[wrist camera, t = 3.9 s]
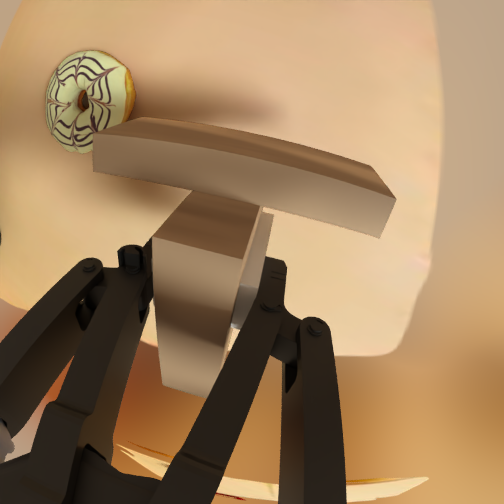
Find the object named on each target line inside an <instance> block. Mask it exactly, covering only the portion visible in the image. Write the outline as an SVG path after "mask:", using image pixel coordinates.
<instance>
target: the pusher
mask: <svg viewBox="0 0 504 504" xmlns="http://www.w3.org/2000/svg"><path fill="white" fill-rule="evenodd" d="M93 172H99V173H105V174H110V175H116V176H122V177H127V178H133V179H138V180H144V181H149V182H154V183H159V184H164V185H169V186H174V187H179V188H184V189H188V190H193V191H192V192H191V193H190V194H189V195H188V196H187V197H186V198H185V200H184V201H183V202H182V203H181V204H180V205H179V206H178V207H177V208H176V210H175V211H174V212H173V213H172V214H171V215H170V216H169V217H168V219H167V220H166V221H165V222H164V223H163V224H162V226H161V227H160V228H159V229H158V230H157V231H156V233H155V234H154V235H153V236H152V258H153V285H154V303H155V317H156V329H157V340H158V350H159V358H160V366H161V375H162V382H163V385H165V386H168V387H171V388H174V389H177V390H180V391H183V392H186V393H190V394H193V395H197V396H200V397H204V398H207V397H208V395H209V393H210V391H211V389H212V387H213V385H214V383H215V381H216V379H217V377H218V375H219V373H220V371H221V369H222V367H223V364H224V360H225V356H226V353H227V350H228V346H229V342H230V339H231V335H232V331H233V328H232V327H231V322H232V318H233V313H234V309H235V304H236V300H237V295H238V290H239V286H240V282H241V278H242V275H243V272H244V268H245V265H246V262H247V258H248V255H249V252H250V248H251V245H252V242H253V238H254V235H255V232H256V228H257V225H258V222H259V218H260V215H261V212H262V210H263V207H267V208H271V209H275V210H279V211H283V212H287V213H290V214H294V215H298V216H302V217H306V218H309V219H313V220H317V221H321V222H324V223H328V224H331V225H335V226H339V227H342V228H346V229H349V230H353V231H356V232H360V233H363V234H366V235H370V236H373V237H376V238H380V236H381V234H382V232H383V230H384V227H385V225H386V223H387V221H388V218H389V216H390V214H391V211H392V209H393V207H394V204H395V202H396V198H395V196H394V195H393V194H392V192H391V191H390V190H389V188H388V187H387V186H386V184H385V183H384V182H383V181H382V179H381V178H380V177H379V175H378V174H377V173H376V172H375V170H374V169H373V168H372V167H371V166H369V165H366V164H363V163H360V162H357V161H354V160H351V159H348V158H345V157H342V156H339V155H335V154H332V153H329V152H325V151H322V150H318V149H315V148H311V147H307V146H304V145H300V144H296V143H292V142H288V141H284V140H280V139H276V138H272V137H267V136H263V135H258V134H254V133H249V132H244V131H239V130H234V129H228V128H223V127H217V126H211V125H205V124H199V123H192V122H185V121H177V120H169V119H160V118H150V117H140V118H137V119H133V120H130V121H127V122H124V123H121V124H118V125H115V126H112V127H109V128H106V129H103V130H101V131H98V132H95V133H93Z"/></svg>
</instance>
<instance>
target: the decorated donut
mask: <svg viewBox="0 0 504 504" xmlns="http://www.w3.org/2000/svg"><path fill="white" fill-rule="evenodd" d="M86 92H87V96H88V102H89V108H88V109H85V107H84V106H83V104H82V99H83V97H84V94H85V93H86ZM135 98H136V92H135V90H134V84H133V80H132V77H131V73H130V70H129V69H128V68H126V66H125V65H124V64H122V63H121V62H120V61H118V60H117V59H115V58H114V57H113V56H111V55H109V54H107V53H105V52H102V51H94V50H91V51H82V52H77V53H75V54H73V55H70V56H69V57H67V58H66V59H65V60H64V61H63V62H62V63H61V64H60V65H59V67H58V68H57V69H56V70H55V72H54V74H53V75H52V77H51V79H50V82H49V85H48V88H47V91H46V122H47V126H48V128H49V130H50V132H51V134H52V136H53V137H54V138H55V139H56V141H57V142H58V143H60V144H61V145H62V146H63V148H65V149H66V150H67V151H70V152H74V151H77V152H79V153H80V154H84V153H87V152H89V151H93V133H95V132H98V131H101V130H103V129H106V128H109V127H112V126H115V125H118V124H121V123H124V122H127V120H128V118H129V116H130V113H131V111H132V109H133V106H134V103H135V102H134V100H135Z"/></svg>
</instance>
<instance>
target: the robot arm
mask: <svg viewBox="0 0 504 504" xmlns="http://www.w3.org/2000/svg"><path fill="white" fill-rule="evenodd" d="M273 217H274V215H273V214H269V213H265V212H261V215H260V218H259V222H258V225H257V228H256V232H255V235H254V238H253V242H252V245H251V248H250V252H249V255H248V258H247V262H246V265H245V268H244V272H243V275H242V278H241V282H240V286H239V290H238V295H237V300H236V304H235V309H234V313H233V318H232V322H231V327H232V328H236V329H240V332H239V334H238V336H237V338H236V340H235V342H234V344H233V346H232V349H231V351H230V353H229V355H228V357H227V359H226V361H225V363H224V365H223V367H222V369H221V371H220V373H219V375H218V377H217V379H216V381H215V383H214V385H213V387H212V389H211V391H210V393H209V395H208V397H207V399H206V401H205V403H204V405H203V407H202V409H201V411H200V413H199V415H198V417H197V419H196V421H195V423H194V425H193V427H192V429H191V431H190V433H189V435H188V437H187V439H186V441H185V443H184V445H183V446H182V448H181V449H180V451H179V452H178V453H177V454H176V455H175V457H174V458H173V460H172V462H171V464H170V465H169V467H168V469H167V471H166V473H165V475H164V477H163V479H162V480H161V481H160V480H158V479H154V478H150V477H143V476H136V475H130V474H124V473H121V472H119V471H118V470H117V469H115V468H114V467H113V466H111V461H112V456H113V433H114V429H115V425H116V421H117V417H118V413H119V409H120V405H121V401H122V398H123V394H124V391H125V387H126V383H127V380H128V377H129V373H130V370H131V366H132V363H133V360H134V357H135V353H136V350H137V347H138V344H139V341H140V338H141V335H142V332H143V329H144V326H145V323H146V320H147V317H148V314H149V309H150V307H149V303H150V301H151V300H152V298H153V303H154V285H153V258H152V237H151V238H150V239H149V241H148V242H147V243H146V244H145V246H143V247H141V246H139V245H126V246H123V247H121V248H120V249H119V250H118V251H117V252H118V261H119V267H118V268H107V267H103V264H102V262H101V261H100V260H99V259H97V258H86V259H83V260H82V261H80V262H79V263H78V264H76V265H75V266H74V267H73V268H72V269H71V270H70V271H69V272H68V273H67V274H66V275H65V276H63V277H62V278H61V279H60V280H59V281H58V282H57V283H56V284H55V285H54V286H53V287H52V288H51V289H50V290H49V291H48V292H47V293H46V294H45V295H44V296H43V297H42V298H41V299H40V300H39V301H38V302H37V303H36V304H35V305H34V306H33V307H32V308H31V309H30V310H29V311H28V312H27V314H26V315H25V316H24V317H23V318H22V319H21V320H20V321H19V322H18V323H17V325H16V326H15V327H14V328H13V329H12V330H11V331H10V332H9V334H8V335H7V336H6V337H5V338H4V339H3V340H2V342H1V343H0V504H211V502H212V500H213V498H214V496H215V493H216V491H217V489H218V487H219V484H220V482H221V480H222V477H223V475H224V472H225V469H226V466H227V464H228V461H229V459H230V457H231V454H232V452H233V449H234V447H235V445H236V442H237V440H238V437H239V435H240V432H241V430H242V427H243V425H244V422H245V420H246V417H247V415H248V412H249V410H250V407H251V404H252V402H253V399H254V396H255V394H256V391H257V389H258V386H259V383H260V380H261V378H262V375H263V372H264V369H265V367H266V364H267V361H268V358H269V356H270V355H271V356H273V357H275V358H276V359H278V360H280V361H282V412H281V416H282V417H281V450H280V475H279V496H278V504H347V500H346V474H345V457H344V443H343V431H342V420H341V409H340V400H339V392H338V383H337V374H336V366H335V359H334V352H333V345H332V338H331V331H330V328H329V326H328V325H327V324H326V322H325V321H323V320H321V319H320V318H316V317H306V318H304V319H303V320H301V319H299V318H297V317H295V316H293V315H292V314H290V313H289V312H288V311H287V309H286V308H285V306H284V294H285V284H286V275H287V266H286V264H285V262H284V261H283V260H279V259H275V258H271V257H267V256H265V255H266V251H267V246H268V241H269V236H270V231H271V227H272V222H273ZM0 244H1V234H0ZM154 305H155V303H154ZM73 356H74V358H73V360H72V362H71V365H70V367H69V370H68V372H67V375H66V377H65V380H64V382H63V385H62V387H61V390H60V393H59V395H58V397H57V399H56V400H55V401H52V402H49V403H48V404H47V405H46V407H45V409H44V411H43V414H42V417H41V420H40V423H39V426H38V429H37V432H36V435H35V438H34V442H33V445H32V449H31V452H30V453H27V454H25V455H22V456H20V457H17V458H15V459H12V460H9V461H6V462H4V460H5V456H6V455H7V453H12V452H13V451H14V444H13V442H12V441H11V439H12V438H13V437H14V436H15V435H16V434H17V433H18V432H19V431H20V430H21V429H22V428H23V427H24V425H25V424H26V423H27V421H28V420H29V419H30V417H31V415H32V414H33V412H34V411H35V409H36V408H37V406H38V405H39V403H40V402H41V400H42V399H43V398H44V396H45V395H46V393H47V392H48V390H49V389H50V387H51V386H52V384H53V383H54V382H55V380H56V379H57V378H58V376H59V375H60V373H61V372H62V371H63V369H64V368H65V367H66V365H67V364H68V362H69V361H70V360H71V358H72V357H73Z"/></svg>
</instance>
